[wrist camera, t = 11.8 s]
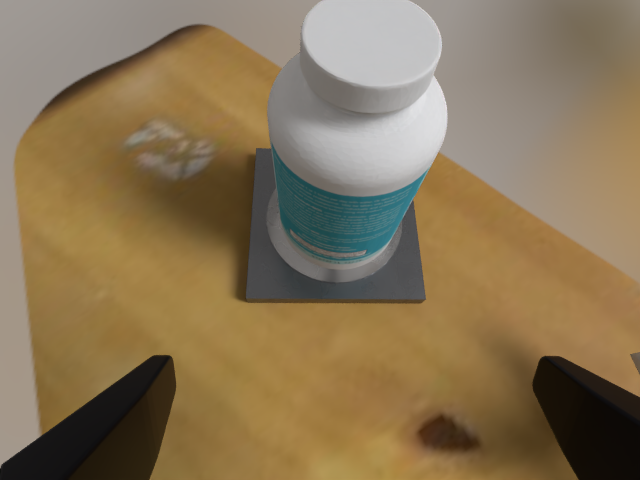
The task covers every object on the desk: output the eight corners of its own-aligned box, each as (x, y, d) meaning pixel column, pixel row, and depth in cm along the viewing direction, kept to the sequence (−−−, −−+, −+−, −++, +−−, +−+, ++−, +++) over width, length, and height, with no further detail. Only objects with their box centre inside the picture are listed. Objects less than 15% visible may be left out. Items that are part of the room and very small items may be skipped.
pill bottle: (409, 256, 24) (528, 99, 11) (297, 287, 22) (290, 149, 10) (370, 161, 26) (431, -50, 14) (268, 184, 25) (236, -23, 13)
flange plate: (420, 303, 24) (426, 298, 23) (247, 302, 23) (245, 297, 22) (403, 160, 28) (407, 151, 27) (257, 156, 28) (256, 146, 26)
